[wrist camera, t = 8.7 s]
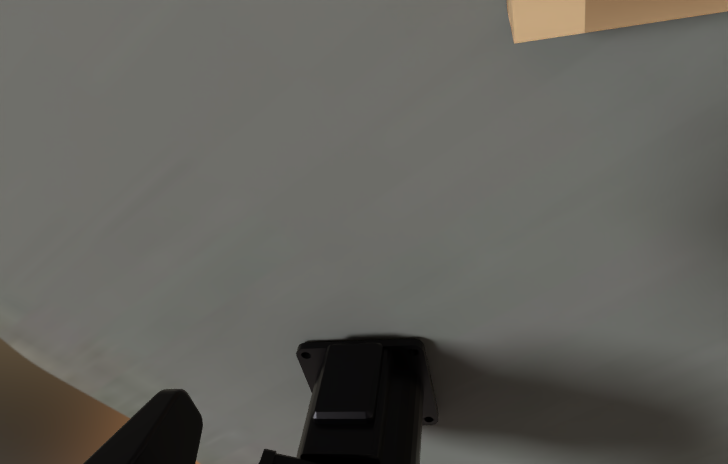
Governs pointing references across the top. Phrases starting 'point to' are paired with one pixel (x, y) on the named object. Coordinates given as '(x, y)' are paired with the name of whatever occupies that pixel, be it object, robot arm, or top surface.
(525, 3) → the holder
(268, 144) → the top surface
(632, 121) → the top surface
